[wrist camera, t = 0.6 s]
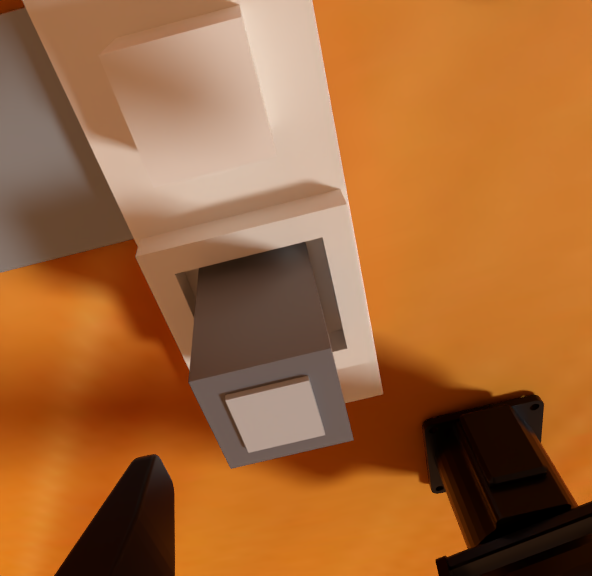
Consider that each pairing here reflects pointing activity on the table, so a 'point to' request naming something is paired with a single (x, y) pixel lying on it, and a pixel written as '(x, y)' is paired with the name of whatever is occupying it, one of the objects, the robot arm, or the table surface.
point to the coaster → (46, 160)
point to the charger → (265, 358)
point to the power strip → (232, 191)
